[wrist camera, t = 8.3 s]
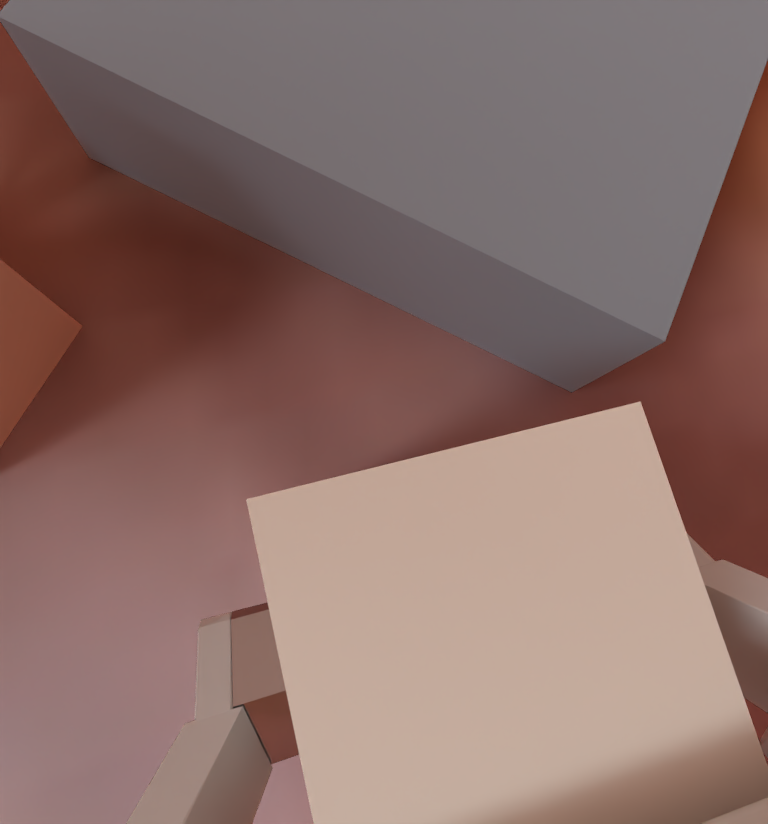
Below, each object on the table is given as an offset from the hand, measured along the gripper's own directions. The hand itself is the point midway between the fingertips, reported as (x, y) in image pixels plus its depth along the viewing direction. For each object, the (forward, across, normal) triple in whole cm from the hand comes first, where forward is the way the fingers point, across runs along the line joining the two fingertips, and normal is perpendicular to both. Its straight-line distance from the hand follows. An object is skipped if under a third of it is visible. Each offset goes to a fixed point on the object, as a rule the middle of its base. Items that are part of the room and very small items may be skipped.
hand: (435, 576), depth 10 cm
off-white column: (+3, 0, +4) cm, 4 cm away
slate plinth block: (+14, -5, -6) cm, 16 cm away
